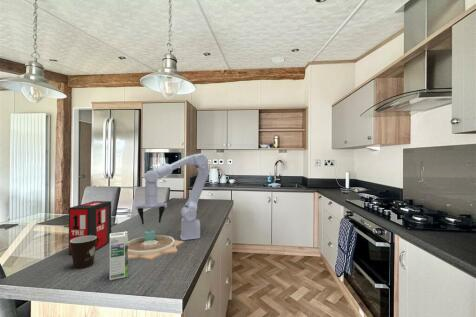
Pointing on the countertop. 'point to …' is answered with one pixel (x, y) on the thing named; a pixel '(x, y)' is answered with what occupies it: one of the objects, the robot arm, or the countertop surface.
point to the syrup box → (118, 255)
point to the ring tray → (152, 247)
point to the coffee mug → (83, 251)
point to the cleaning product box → (91, 222)
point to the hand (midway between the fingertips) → (151, 223)
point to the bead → (149, 235)
